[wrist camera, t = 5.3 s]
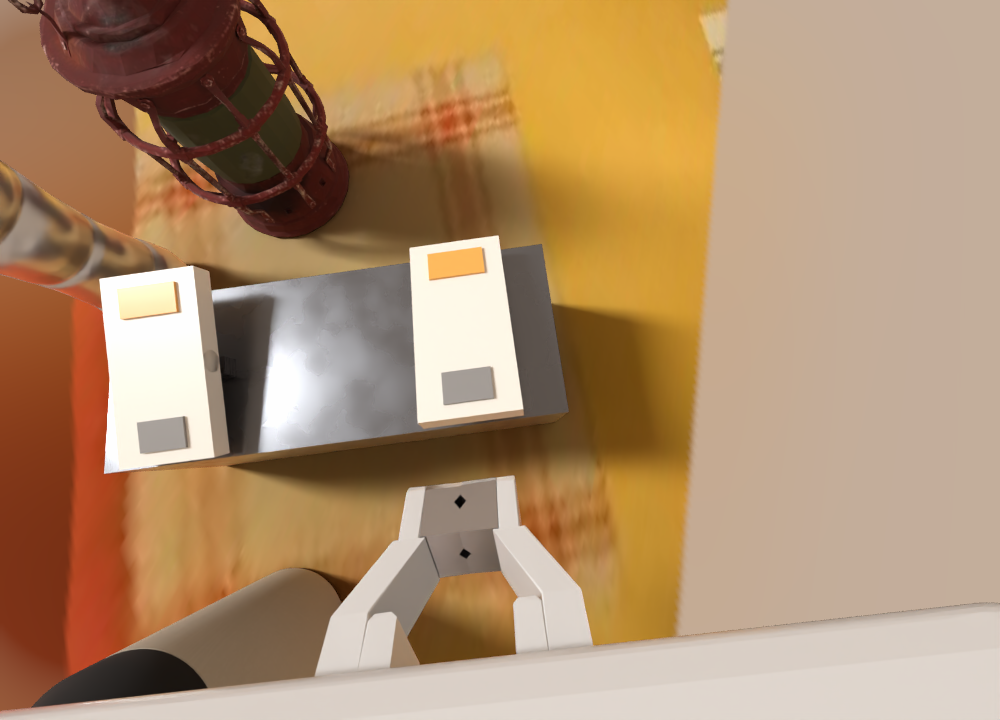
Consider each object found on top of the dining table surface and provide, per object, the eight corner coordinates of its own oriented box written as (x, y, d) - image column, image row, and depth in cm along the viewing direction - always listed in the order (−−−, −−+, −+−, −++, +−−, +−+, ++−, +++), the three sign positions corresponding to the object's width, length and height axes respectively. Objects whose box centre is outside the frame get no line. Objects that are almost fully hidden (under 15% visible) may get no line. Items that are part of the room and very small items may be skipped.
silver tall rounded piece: (198, 249, 37) (-156, 31, 18) (214, 318, 36) (-152, 163, 16) (127, 273, 37) (-308, 81, 18) (140, 344, 36) (-317, 219, 16)
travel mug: (273, 548, 32) (-28, 671, 14) (365, 596, 31) (163, 792, 13) (218, 654, 31) (-187, 934, 13) (313, 709, 30) (11, 1091, 12)
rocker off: (229, 452, 23) (212, 457, 22) (139, 464, 23) (116, 470, 22) (209, 271, 23) (190, 264, 22) (120, 283, 23) (96, 278, 22)
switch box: (554, 422, 33) (570, 410, 22) (226, 465, 33) (86, 474, 23) (535, 297, 35) (541, 231, 24) (226, 340, 36) (99, 293, 25)
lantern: (304, 103, 40) (-294, -852, 11) (386, 184, 38) (-78, -732, 8) (200, 185, 39) (-809, -642, 9) (280, 275, 36) (-709, -436, 7)
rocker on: (523, 415, 21) (523, 408, 20) (423, 428, 21) (416, 422, 20) (499, 248, 25) (498, 233, 23) (414, 260, 25) (408, 246, 23)
